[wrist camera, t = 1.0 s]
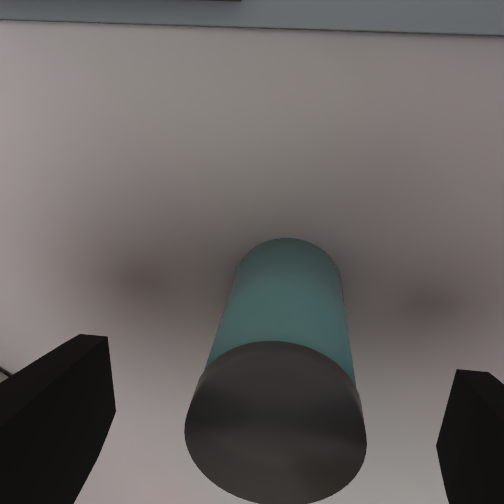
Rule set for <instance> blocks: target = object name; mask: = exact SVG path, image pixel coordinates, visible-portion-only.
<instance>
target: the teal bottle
mask: <svg viewBox="0 0 504 504" xmlns="http://www.w3.org/2000/svg"><path fill="white" fill-rule="evenodd" d="M184 433H185V441H186V445H187V448H188V451H189V453H190V455H191V458H192V459H193V461H194V462H195V464H196V466H197V467H198V468H199V469H200V470H201V472H202V473H203V474H204V475H205V476H206V477H207V478H208V479H209V480H211V481H212V482H213V483H214V484H216V485H217V486H218V487H220V488H222V489H223V490H225V491H227V492H229V493H231V494H233V495H235V496H237V497H240V498H242V499H245V500H248V501H251V502H255V503H259V504H308V503H313V502H316V501H319V500H322V499H325V498H327V497H329V496H332V495H333V494H335V493H337V492H338V491H340V490H341V489H343V488H344V487H345V486H346V485H348V484H349V483H350V482H351V481H352V480H353V478H354V477H355V476H356V475H357V473H358V472H359V470H360V468H361V466H362V464H363V462H364V458H365V455H366V447H367V441H366V432H365V425H364V418H363V412H362V405H361V400H360V397H359V393H358V391H357V389H356V383H355V376H354V369H353V362H352V355H351V348H350V342H349V335H348V328H347V321H346V314H345V307H344V300H343V293H342V286H341V280H340V276H339V272H338V270H337V267H336V266H335V264H334V262H333V261H332V260H331V258H330V257H329V256H328V255H327V254H326V253H325V252H324V251H322V250H321V249H320V248H318V247H317V246H315V245H313V244H311V243H308V242H306V241H302V240H299V239H291V238H282V239H275V240H271V241H268V242H265V243H262V244H261V245H259V246H257V247H255V248H254V249H253V250H251V251H250V252H249V253H248V254H247V255H246V256H245V257H244V259H243V260H242V262H241V263H240V265H239V267H238V270H237V273H236V276H235V279H234V282H233V285H232V288H231V291H230V294H229V297H228V300H227V303H226V306H225V309H224V312H223V315H222V318H221V321H220V324H219V327H218V330H217V334H216V337H215V340H214V343H213V346H212V349H211V352H210V355H209V358H208V361H207V364H206V367H205V370H204V372H203V374H202V375H201V377H200V379H199V381H198V384H197V386H196V389H195V392H194V395H193V398H192V401H191V404H190V407H189V410H188V413H187V417H186V421H185V431H184Z"/></svg>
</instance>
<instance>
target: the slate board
mask: <svg viewBox="0 0 504 504" xmlns="http://www.w3.org/2000/svg"><path fill="white" fill-rule="evenodd" d="M0 20H19V21H50V22H80V23H111V24H142V25H173V26H204V27H235V28H266V29H296V30H327V31H358V32H389V33H420V34H451V35H482V36H504V0H0Z"/></svg>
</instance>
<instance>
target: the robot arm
mask: <svg viewBox="0 0 504 504" xmlns="http://www.w3.org/2000/svg"><path fill="white" fill-rule="evenodd" d="M115 413H116V407H115V398H114V389H113V380H112V371H111V363H110V354H109V345H108V337H107V336H96V335H85V334H79V335H78V336H76V337H74V338H72V339H70V340H69V341H67V342H65V343H63V344H62V345H60V346H59V347H57V348H55V349H54V350H52V351H50V352H49V353H47V354H46V355H44V356H42V357H41V358H39V359H38V360H36V361H34V362H33V363H31V364H30V365H28V366H26V367H25V368H23V369H22V370H20V371H18V372H17V373H15V374H13V375H12V376H10V377H9V378H7V379H5V380H4V381H2V382H1V383H0V504H74V502H75V500H76V498H77V496H78V494H79V493H80V491H81V489H82V487H83V485H84V483H85V481H86V479H87V477H88V476H89V474H90V472H91V470H92V468H93V466H94V464H95V462H96V460H97V458H98V456H99V454H100V452H101V449H102V447H103V444H104V442H105V439H106V437H107V434H108V431H109V429H110V426H111V423H112V421H113V418H114V415H115ZM436 448H437V453H438V458H439V463H440V468H441V473H442V477H443V481H444V486H445V490H446V495H447V498H448V501H449V504H504V384H503V383H501V382H500V381H499V380H498V379H496V378H495V377H494V376H493V375H491V374H490V373H489V372H481V371H470V370H459V369H457V370H456V374H455V377H454V381H453V385H452V388H451V392H450V396H449V400H448V403H447V407H446V411H445V415H444V418H443V422H442V426H441V430H440V433H439V437H438V441H437V444H436Z"/></svg>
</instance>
